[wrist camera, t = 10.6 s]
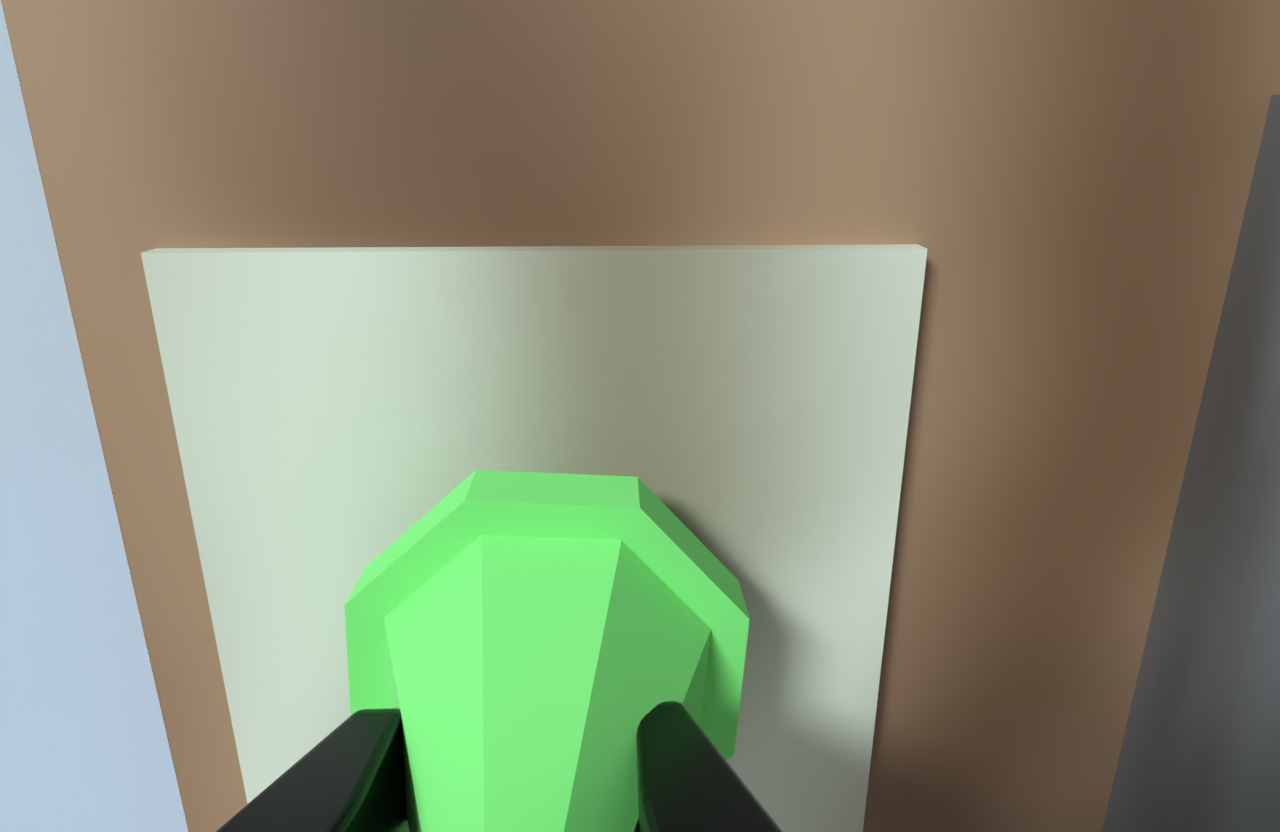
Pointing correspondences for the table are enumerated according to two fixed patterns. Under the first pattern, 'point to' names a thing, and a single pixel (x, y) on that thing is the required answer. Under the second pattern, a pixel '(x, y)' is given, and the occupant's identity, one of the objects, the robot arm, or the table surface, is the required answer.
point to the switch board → (710, 361)
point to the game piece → (542, 648)
